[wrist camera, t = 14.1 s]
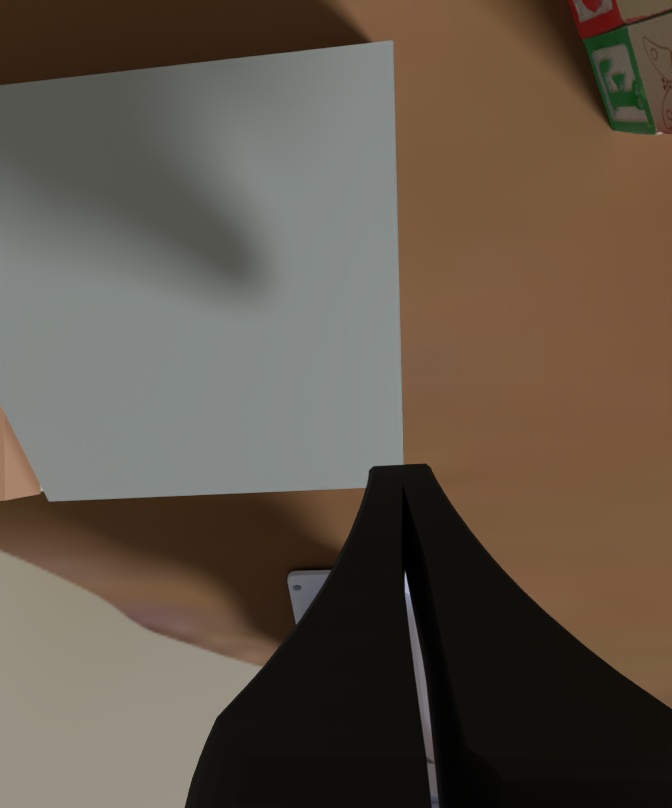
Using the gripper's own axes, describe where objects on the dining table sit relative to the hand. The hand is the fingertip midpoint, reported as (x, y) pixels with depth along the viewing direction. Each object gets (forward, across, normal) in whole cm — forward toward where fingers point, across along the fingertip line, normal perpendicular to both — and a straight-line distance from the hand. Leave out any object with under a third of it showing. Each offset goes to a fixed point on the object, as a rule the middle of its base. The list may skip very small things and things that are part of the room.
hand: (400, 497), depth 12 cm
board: (+10, +7, -2) cm, 13 cm away
